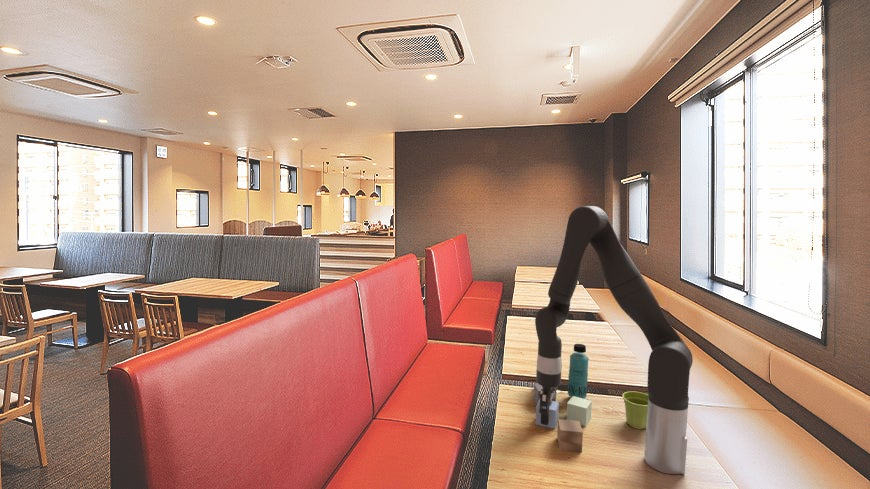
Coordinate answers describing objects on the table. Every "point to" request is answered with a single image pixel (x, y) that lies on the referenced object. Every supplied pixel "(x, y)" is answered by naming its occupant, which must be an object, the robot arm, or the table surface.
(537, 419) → the slate blue block
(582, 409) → the sage block
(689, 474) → the table surface
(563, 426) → the walnut block
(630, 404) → the plant pot
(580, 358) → the beverage bottle
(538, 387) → the charcoal block
